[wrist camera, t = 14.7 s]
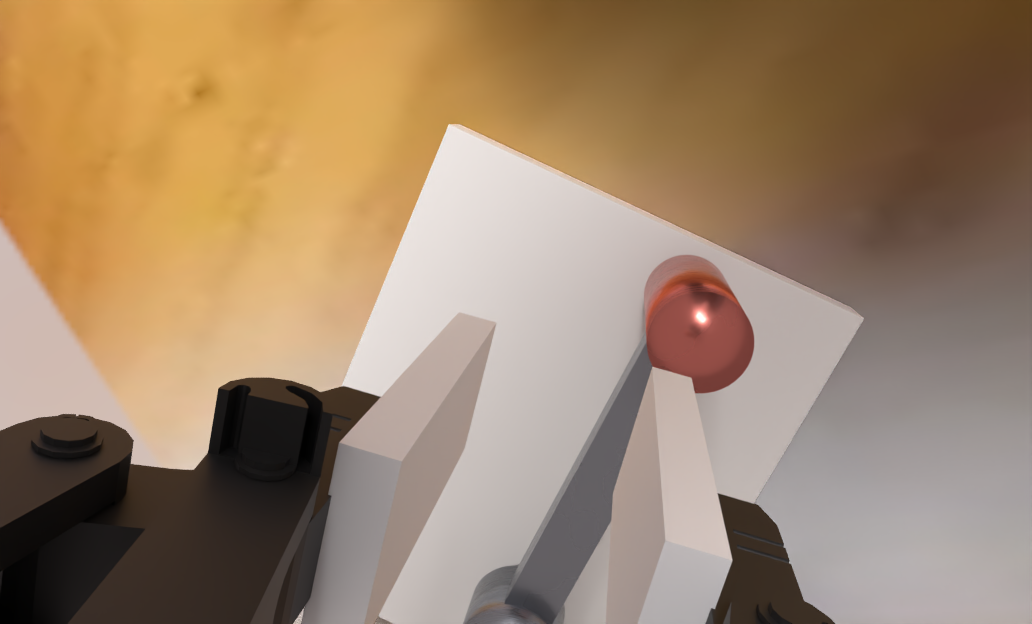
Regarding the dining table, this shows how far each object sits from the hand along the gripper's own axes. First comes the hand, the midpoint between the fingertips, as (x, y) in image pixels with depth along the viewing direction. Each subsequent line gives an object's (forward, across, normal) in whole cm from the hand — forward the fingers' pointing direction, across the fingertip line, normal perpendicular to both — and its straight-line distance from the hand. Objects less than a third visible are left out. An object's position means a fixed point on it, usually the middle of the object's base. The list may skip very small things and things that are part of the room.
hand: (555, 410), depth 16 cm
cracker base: (+20, 0, -9) cm, 21 cm away
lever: (+17, +2, -10) cm, 19 cm away
